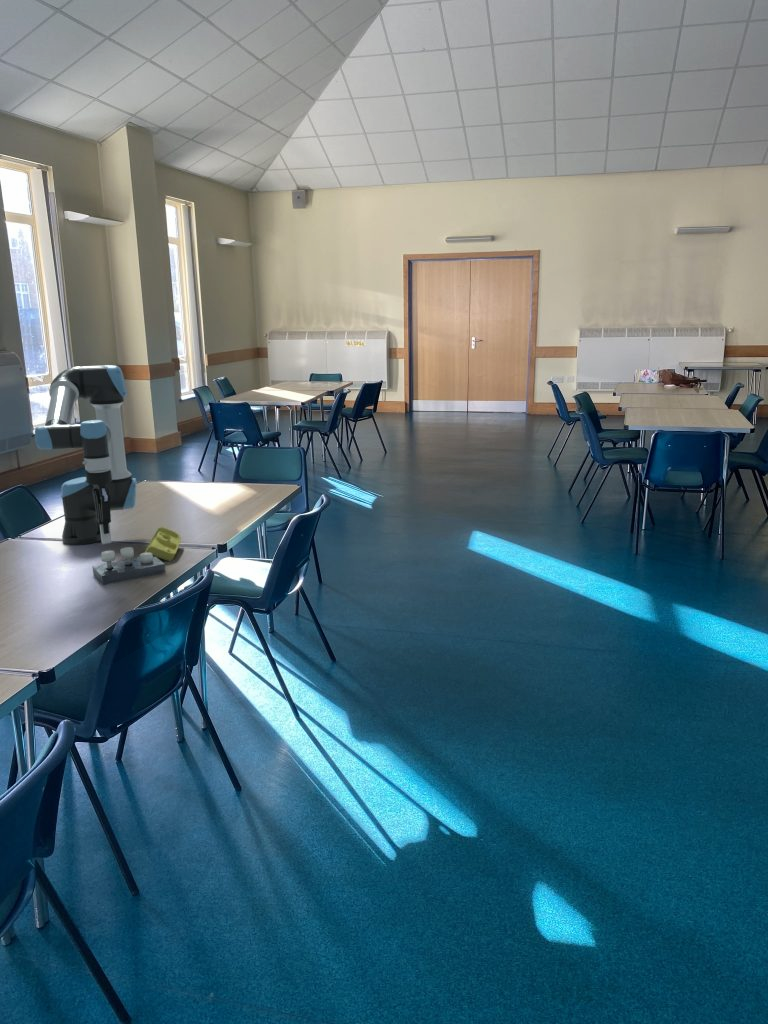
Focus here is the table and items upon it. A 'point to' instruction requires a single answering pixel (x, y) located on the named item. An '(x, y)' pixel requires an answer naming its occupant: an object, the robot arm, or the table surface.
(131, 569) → the mount
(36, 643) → the table surface
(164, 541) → the plastic component
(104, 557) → the knob
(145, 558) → the knob
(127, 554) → the knob mid
